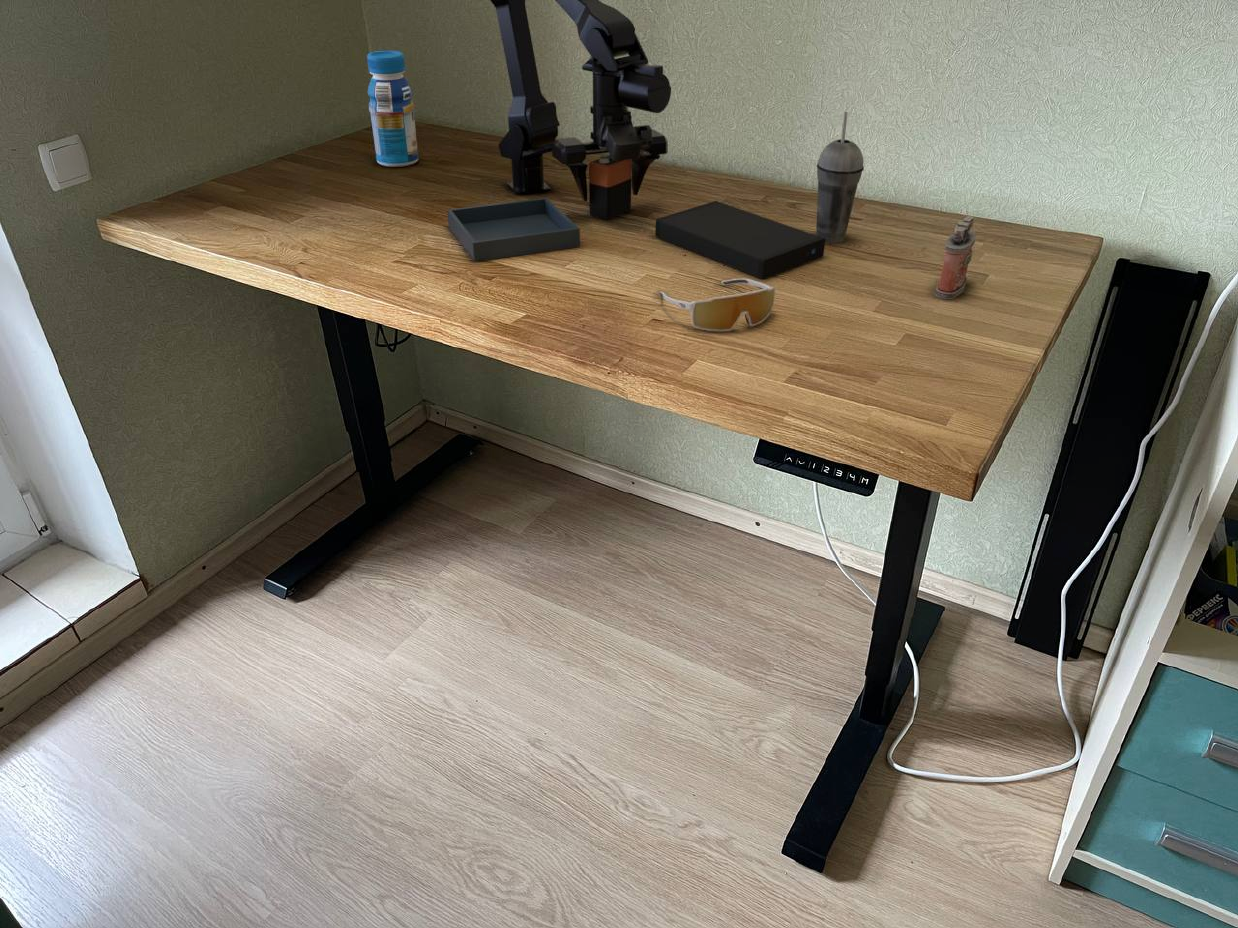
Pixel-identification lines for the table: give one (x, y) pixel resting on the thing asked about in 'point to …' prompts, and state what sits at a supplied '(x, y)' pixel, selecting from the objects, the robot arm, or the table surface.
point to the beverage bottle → (391, 110)
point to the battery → (609, 187)
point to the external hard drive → (740, 239)
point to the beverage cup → (837, 186)
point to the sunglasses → (729, 307)
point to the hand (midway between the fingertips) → (610, 197)
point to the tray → (512, 229)
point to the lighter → (956, 260)
